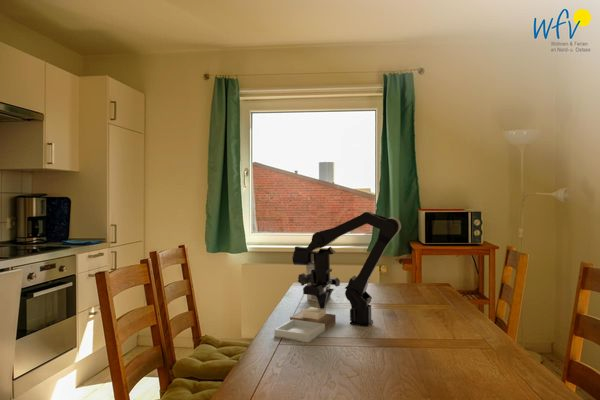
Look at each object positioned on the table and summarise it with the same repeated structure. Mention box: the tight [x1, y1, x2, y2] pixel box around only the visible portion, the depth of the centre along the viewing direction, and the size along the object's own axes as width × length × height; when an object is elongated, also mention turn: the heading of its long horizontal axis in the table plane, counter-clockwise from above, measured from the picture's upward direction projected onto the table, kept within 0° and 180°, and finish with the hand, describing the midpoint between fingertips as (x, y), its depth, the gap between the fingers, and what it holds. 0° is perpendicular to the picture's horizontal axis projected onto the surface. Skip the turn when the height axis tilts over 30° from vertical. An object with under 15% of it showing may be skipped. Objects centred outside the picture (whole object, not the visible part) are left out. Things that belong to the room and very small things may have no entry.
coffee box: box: [306, 261, 332, 302], centre depth 180 cm, size 9×6×16 cm
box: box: [274, 319, 326, 343], centre depth 135 cm, size 12×12×2 cm
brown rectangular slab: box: [289, 310, 336, 332], centre depth 145 cm, size 13×9×3 cm
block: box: [301, 306, 327, 320], centre depth 144 cm, size 6×6×2 cm
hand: (322, 309), depth 150 cm, fingers closed
